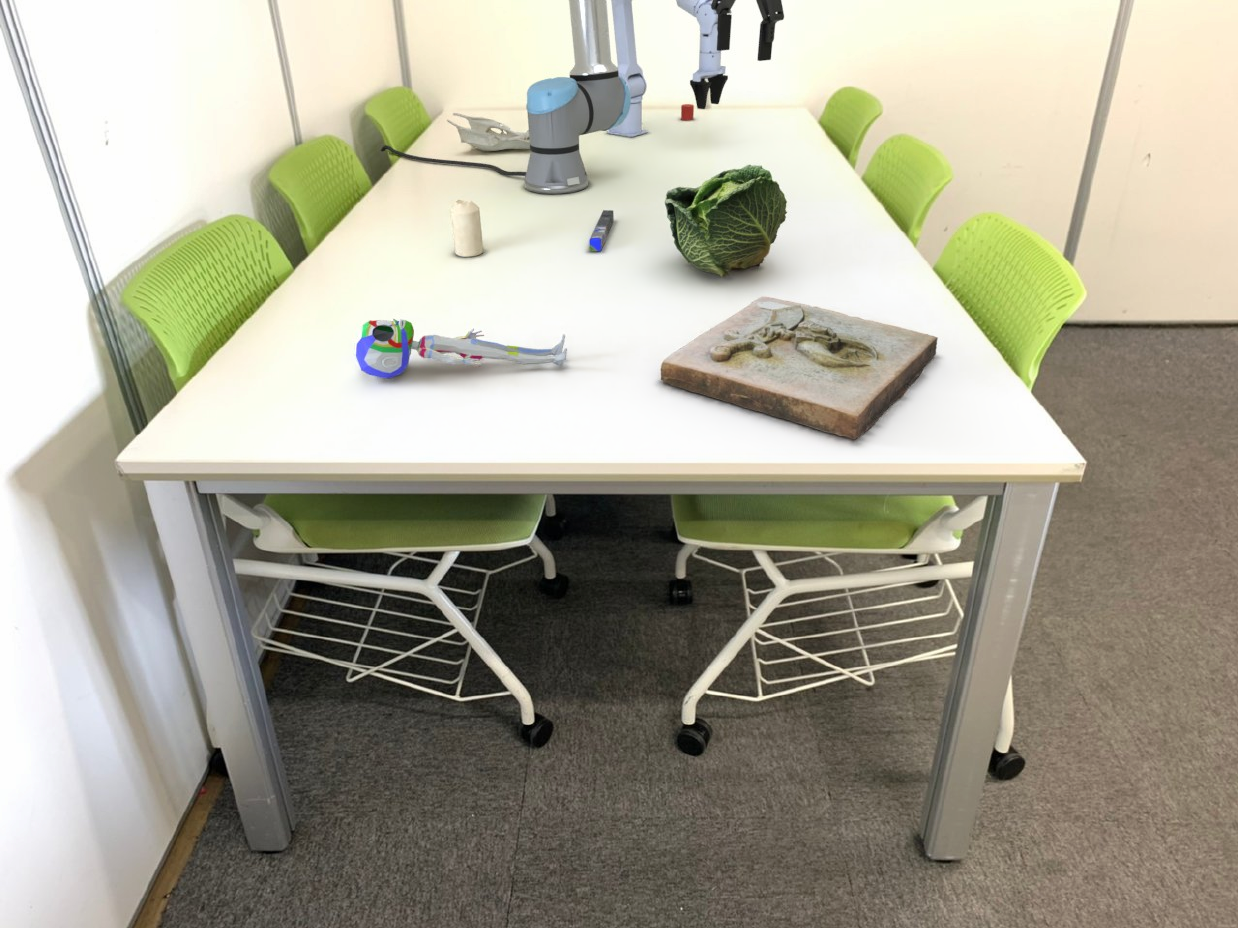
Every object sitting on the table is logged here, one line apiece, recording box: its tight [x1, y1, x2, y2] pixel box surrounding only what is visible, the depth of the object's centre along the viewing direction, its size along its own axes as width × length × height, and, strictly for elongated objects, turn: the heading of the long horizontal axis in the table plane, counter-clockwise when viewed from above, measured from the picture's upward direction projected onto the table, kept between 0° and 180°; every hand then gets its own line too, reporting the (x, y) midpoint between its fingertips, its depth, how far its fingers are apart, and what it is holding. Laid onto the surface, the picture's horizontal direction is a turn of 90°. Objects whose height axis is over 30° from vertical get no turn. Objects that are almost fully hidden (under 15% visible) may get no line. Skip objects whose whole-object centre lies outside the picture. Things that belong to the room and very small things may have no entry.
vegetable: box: [664, 164, 788, 278], centre depth 161 cm, size 20×19×20 cm
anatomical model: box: [446, 112, 530, 152], centre depth 245 cm, size 15×9×25 cm
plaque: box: [660, 296, 939, 441], centre depth 128 cm, size 30×7×30 cm
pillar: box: [588, 209, 615, 252], centre depth 182 cm, size 2×2×20 cm
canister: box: [680, 103, 695, 122], centre depth 276 cm, size 4×4×4 cm
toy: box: [353, 318, 568, 379], centre depth 130 cm, size 10×8×30 cm
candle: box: [449, 199, 484, 258], centre depth 172 cm, size 6×6×10 cm
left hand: (742, 55), depth 179 cm, fingers open, 13 cm apart
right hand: (708, 106), depth 244 cm, fingers open, 7 cm apart
